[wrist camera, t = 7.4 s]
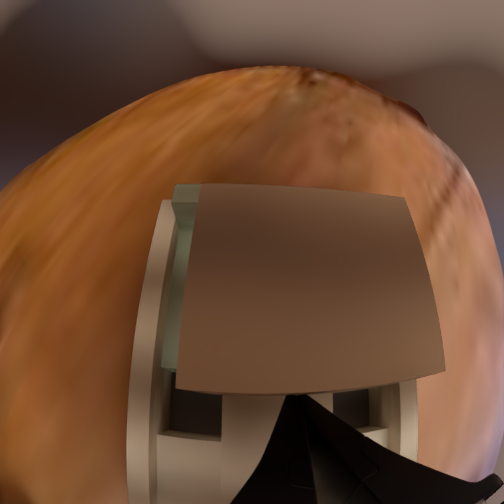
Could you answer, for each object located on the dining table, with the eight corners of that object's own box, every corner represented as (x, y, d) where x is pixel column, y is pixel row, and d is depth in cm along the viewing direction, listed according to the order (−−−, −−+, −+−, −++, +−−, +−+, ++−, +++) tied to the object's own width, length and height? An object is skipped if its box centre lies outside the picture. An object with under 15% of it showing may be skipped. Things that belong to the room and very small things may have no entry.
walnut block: (341, 392, 13) (445, 371, 6) (213, 394, 13) (175, 388, 5) (335, 294, 16) (404, 197, 9) (219, 292, 16) (201, 183, 8)
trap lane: (375, 524, 10) (416, 550, 5) (155, 532, 10) (127, 568, 5) (362, 242, 22) (391, 196, 17) (174, 236, 22) (157, 184, 16)
